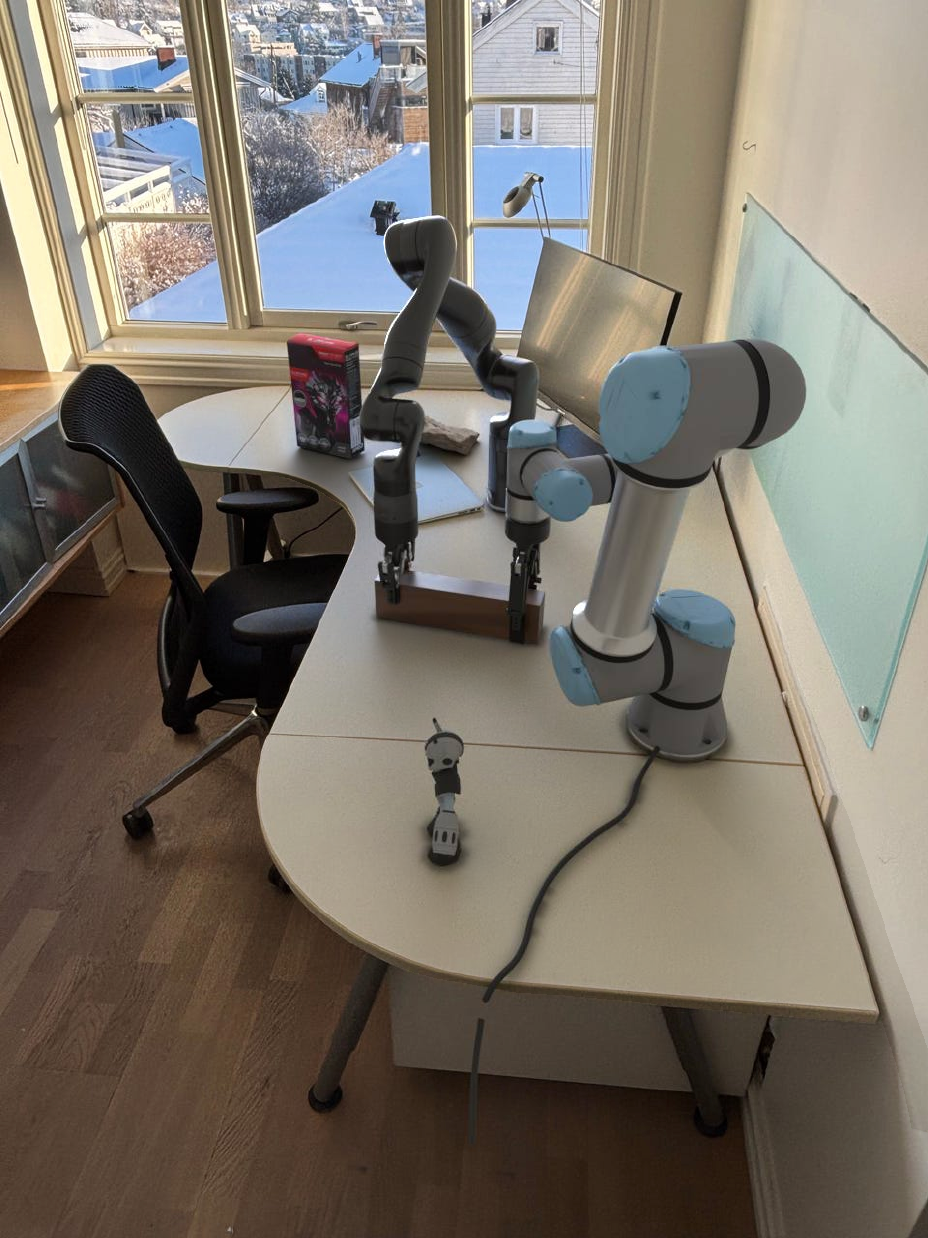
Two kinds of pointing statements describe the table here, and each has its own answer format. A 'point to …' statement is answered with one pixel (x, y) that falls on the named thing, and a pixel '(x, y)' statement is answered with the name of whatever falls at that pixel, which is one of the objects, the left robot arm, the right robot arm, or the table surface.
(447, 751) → the robot
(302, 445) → the graphics card box
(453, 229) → the left robot arm
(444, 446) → the stone
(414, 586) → the beam
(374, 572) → the table surface
